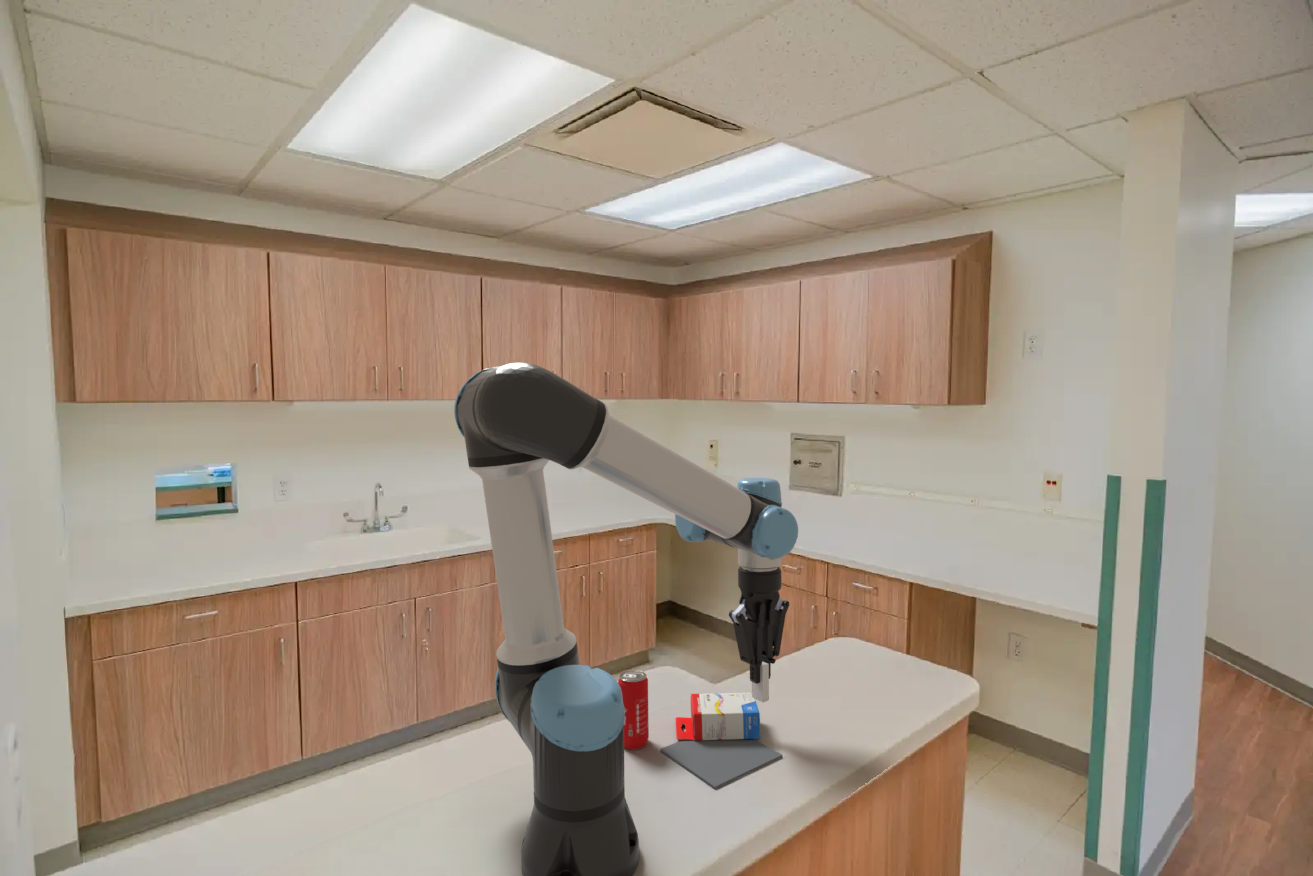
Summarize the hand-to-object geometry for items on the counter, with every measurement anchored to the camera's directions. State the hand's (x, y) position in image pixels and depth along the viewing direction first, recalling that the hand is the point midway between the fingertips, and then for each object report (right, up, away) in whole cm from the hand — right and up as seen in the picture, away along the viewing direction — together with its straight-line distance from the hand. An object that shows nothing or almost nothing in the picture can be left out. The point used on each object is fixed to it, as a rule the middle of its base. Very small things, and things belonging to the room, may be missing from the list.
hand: (760, 698), depth 114 cm
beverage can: (-22, -7, -1) cm, 24 cm away
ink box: (0, -4, +2) cm, 5 cm away
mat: (-8, -7, -5) cm, 12 cm away
